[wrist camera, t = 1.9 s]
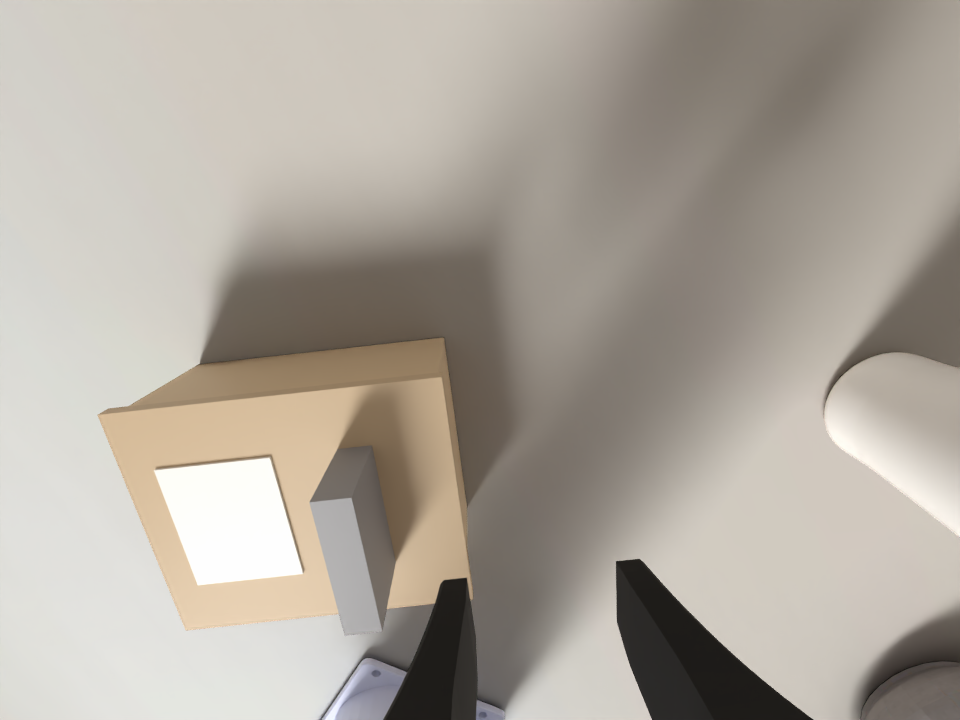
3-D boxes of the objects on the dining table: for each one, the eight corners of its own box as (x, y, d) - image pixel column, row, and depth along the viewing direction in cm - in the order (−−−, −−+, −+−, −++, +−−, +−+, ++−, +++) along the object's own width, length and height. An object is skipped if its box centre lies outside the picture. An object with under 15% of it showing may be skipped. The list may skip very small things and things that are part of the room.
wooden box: (444, 337, 20) (438, 375, 16) (466, 507, 23) (467, 580, 19) (198, 364, 21) (122, 409, 16) (251, 530, 23) (200, 609, 19)
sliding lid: (442, 371, 16) (436, 416, 12) (473, 589, 19) (474, 672, 15) (108, 408, 16) (12, 463, 12) (192, 619, 19) (133, 709, 15)
